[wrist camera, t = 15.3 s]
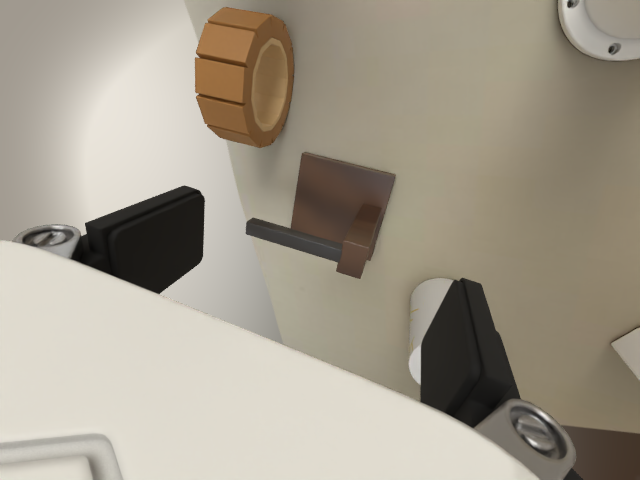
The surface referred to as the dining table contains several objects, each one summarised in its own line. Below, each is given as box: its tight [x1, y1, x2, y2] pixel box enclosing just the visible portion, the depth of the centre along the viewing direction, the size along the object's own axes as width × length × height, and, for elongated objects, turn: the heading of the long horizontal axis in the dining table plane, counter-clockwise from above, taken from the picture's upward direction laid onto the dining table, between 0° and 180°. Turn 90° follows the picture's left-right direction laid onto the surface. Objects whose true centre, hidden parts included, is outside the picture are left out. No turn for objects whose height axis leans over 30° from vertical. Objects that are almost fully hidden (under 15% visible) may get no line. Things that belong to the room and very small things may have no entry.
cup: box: [409, 278, 454, 385], centre depth 38 cm, size 8×8×12 cm
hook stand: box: [246, 152, 396, 279], centre depth 36 cm, size 12×13×13 cm
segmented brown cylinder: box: [195, 7, 294, 148], centre depth 32 cm, size 12×5×12 cm, turn 169°
